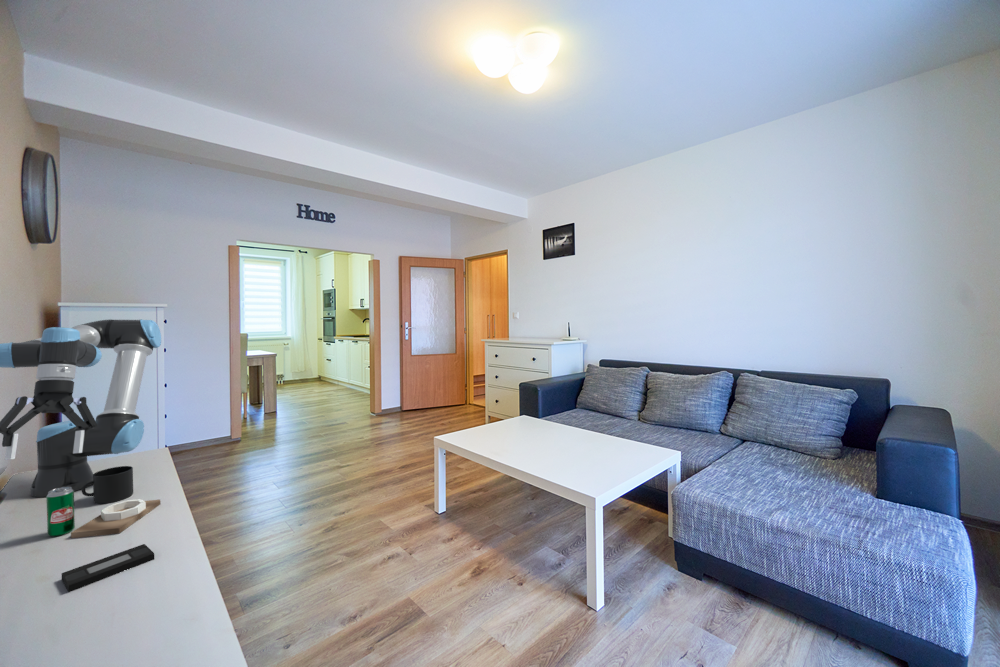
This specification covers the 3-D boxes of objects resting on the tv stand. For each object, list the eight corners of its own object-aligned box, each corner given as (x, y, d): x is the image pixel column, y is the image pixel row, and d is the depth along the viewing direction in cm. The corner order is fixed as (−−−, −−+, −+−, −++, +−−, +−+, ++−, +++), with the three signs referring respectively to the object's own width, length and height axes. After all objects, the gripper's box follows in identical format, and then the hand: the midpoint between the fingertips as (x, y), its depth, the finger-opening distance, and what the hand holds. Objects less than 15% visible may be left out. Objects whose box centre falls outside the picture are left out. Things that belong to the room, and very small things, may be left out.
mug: (81, 501, 128) (80, 473, 128) (131, 489, 137) (130, 463, 137) (82, 510, 122) (82, 481, 122) (135, 497, 131) (134, 470, 131)
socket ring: (117, 507, 120) (116, 501, 120) (151, 504, 122) (151, 498, 122) (93, 522, 111) (93, 515, 111) (131, 518, 113) (131, 511, 113)
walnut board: (119, 507, 123) (119, 503, 123) (160, 504, 126) (160, 499, 126) (71, 538, 106) (71, 532, 106) (119, 533, 108) (119, 528, 108)
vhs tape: (61, 582, 89) (61, 573, 88) (144, 551, 100) (144, 543, 100) (68, 594, 84) (68, 585, 84) (154, 561, 96) (154, 553, 96)
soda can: (49, 539, 105) (48, 495, 105) (45, 534, 108) (44, 491, 107) (77, 531, 109) (76, 488, 109) (72, 526, 112) (71, 484, 112)
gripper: (-2, 376, 102) (-15, 461, 97) (116, 381, 125) (109, 450, 121) (-18, 379, 104) (-33, 463, 99) (100, 383, 127) (93, 451, 123)
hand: (45, 456), depth 110 cm, fingers open, 13 cm apart
